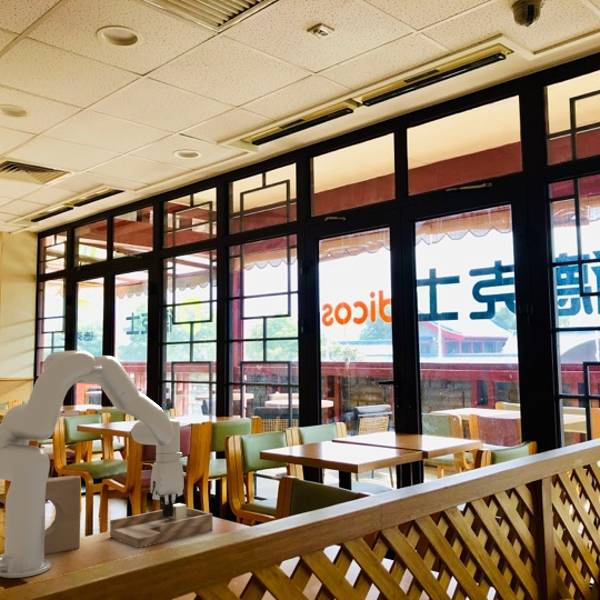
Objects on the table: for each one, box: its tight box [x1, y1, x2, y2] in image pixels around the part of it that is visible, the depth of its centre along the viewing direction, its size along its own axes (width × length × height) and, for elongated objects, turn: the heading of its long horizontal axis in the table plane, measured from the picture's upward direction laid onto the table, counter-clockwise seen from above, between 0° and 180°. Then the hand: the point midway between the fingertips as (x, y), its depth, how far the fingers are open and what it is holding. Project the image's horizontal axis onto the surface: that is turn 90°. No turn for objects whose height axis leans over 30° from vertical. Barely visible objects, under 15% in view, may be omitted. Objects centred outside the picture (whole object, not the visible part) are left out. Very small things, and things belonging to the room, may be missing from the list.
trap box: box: [109, 506, 214, 548], centre depth 201 cm, size 26×17×5 cm, turn 135°
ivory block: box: [169, 502, 188, 520], centre depth 211 cm, size 4×4×4 cm
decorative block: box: [44, 474, 82, 556], centre depth 186 cm, size 11×6×20 cm, turn 128°
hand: (167, 516), depth 208 cm, fingers closed
